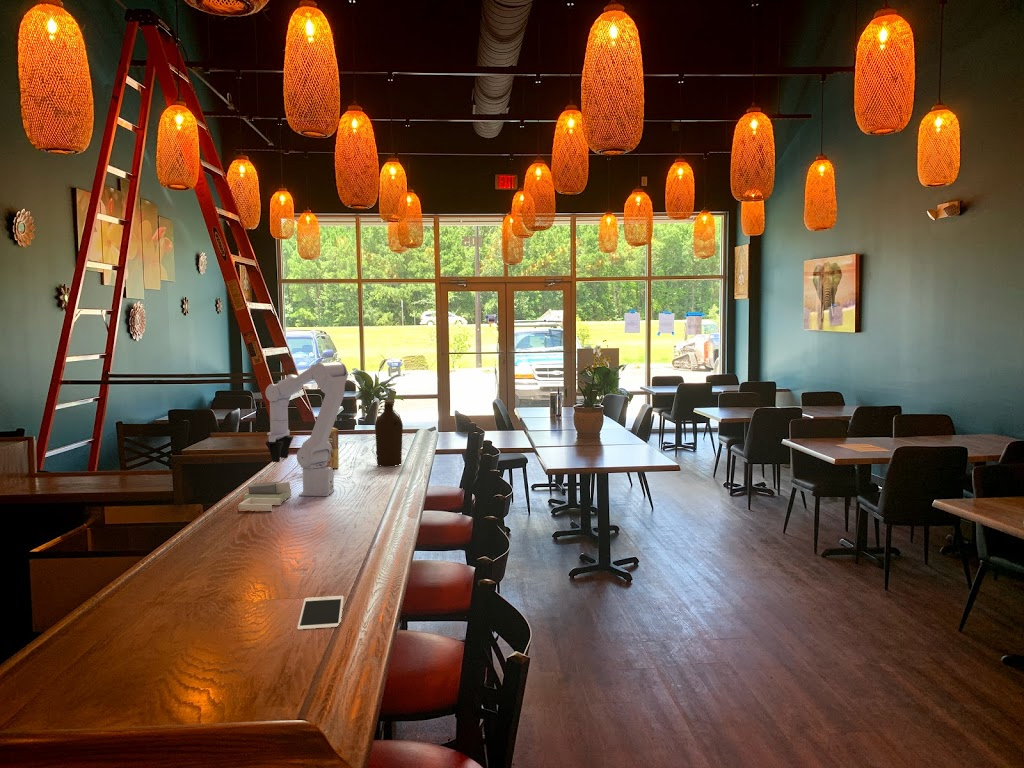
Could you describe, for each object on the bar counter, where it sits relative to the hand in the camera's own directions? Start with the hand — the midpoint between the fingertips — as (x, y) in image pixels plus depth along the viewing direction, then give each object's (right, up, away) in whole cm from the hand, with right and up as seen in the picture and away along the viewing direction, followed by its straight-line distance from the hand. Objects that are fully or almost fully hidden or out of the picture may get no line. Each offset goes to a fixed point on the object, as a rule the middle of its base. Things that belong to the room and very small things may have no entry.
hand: (280, 459), depth 257 cm
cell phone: (+41, -20, -108) cm, 117 cm away
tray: (+1, -11, -16) cm, 20 cm away
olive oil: (+30, -6, +41) cm, 51 cm away
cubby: (+3, -12, -27) cm, 30 cm away
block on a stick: (+2, -10, -16) cm, 19 cm away
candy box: (+8, -7, +32) cm, 34 cm away
